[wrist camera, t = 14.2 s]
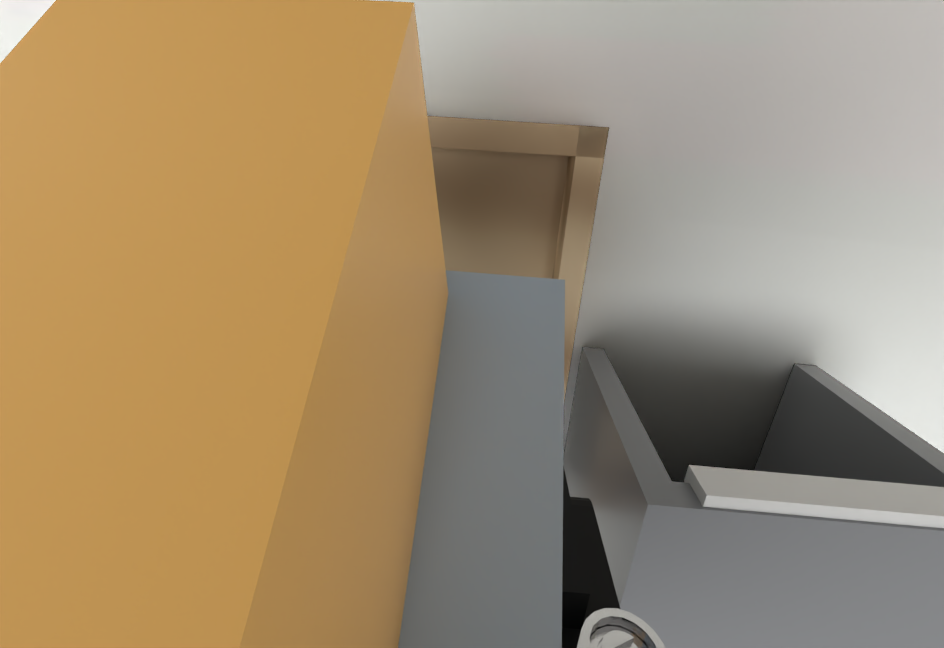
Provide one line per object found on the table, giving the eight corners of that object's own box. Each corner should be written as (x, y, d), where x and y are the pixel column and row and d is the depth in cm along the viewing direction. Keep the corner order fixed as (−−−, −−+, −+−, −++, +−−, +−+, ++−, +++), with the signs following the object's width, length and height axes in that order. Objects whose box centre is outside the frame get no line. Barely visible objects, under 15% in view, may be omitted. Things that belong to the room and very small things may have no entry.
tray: (323, 112, 18) (296, 107, 15) (594, 129, 17) (609, 127, 15) (343, 452, 24) (327, 484, 22) (542, 469, 24) (547, 504, 22)
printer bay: (583, 339, 21) (651, 492, 12) (819, 358, 20) (1082, 531, 11) (552, 519, 25) (583, 736, 16) (746, 537, 25) (893, 769, 16)
